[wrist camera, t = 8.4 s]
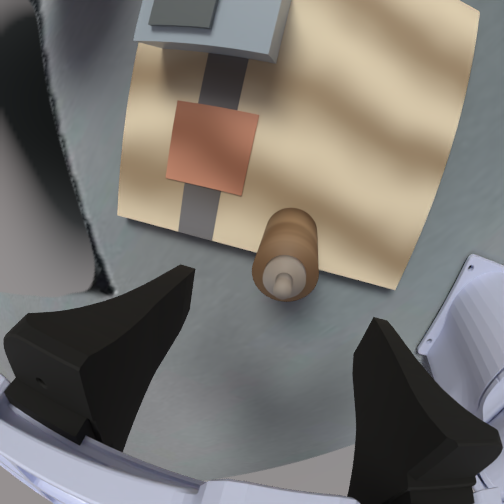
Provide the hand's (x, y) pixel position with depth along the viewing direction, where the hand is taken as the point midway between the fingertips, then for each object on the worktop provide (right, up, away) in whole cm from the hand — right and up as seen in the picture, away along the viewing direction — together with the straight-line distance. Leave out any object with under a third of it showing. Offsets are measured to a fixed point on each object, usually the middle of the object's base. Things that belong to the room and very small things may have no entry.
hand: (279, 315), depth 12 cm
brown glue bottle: (+1, +4, +8) cm, 9 cm away
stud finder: (-3, +16, +3) cm, 16 cm away
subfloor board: (+1, +12, +5) cm, 13 cm away
